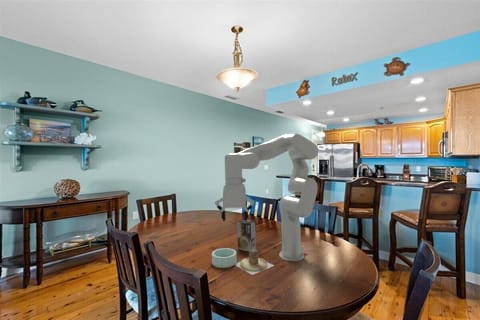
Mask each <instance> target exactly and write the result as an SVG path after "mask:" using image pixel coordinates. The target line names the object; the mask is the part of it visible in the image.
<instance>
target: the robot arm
mask: <svg viewBox="0 0 480 320" xmlns="http://www.w3.org/2000/svg"><path fill="white" fill-rule="evenodd" d="M286 152H288V156H289V158H290V160H291V162H292V170H291V174H290V177H289V180H288V184H287V191H288V192H289V193H290V194H292V195H286V196H283V197H282V198H280V200H279V204H278V205H279V206H278V208H279V211H280V217H281V251H280V252H279V254H278V255H279V258H281V259H282V260H284V261H289V262H299V261H302V260H303V259H304V257H305V255H304V253H303V251H304V250H306V249H307V248H306V246H305V245H301V242H302V241H301V221H300V218H303V219H306V218H309V217H310V216H311V214H312V211H313V209H314V206H315V202H316V198H317V193H318V183H317V181H316V180H315V179H314V178H312V177H308V176H309V171H310V170H309V166H308V163H307V162H306V160H307V161H308V160H314V159H316V158H317V157H318V154H319V149H318V146H317V144H316V143H314V142H313V141H311V140H310V139H309V138H307V137H305V136H304V135H301V134H299V133H290V134H288V133H287V134H283V135H280V136H278V137H275V138H274V139H270V140H269V141H265V142H263V143H260V144H257V145H256V146H252V147H248V148H246V149H244V150H242V151H239V152H237V153H236V152H235V153H226V154H225V155H224V177H225V178H224V179H225V183H224V184H223V185H224V186H223V190H222V197H221V198H219V199H217V200H216V201H214V204H215V206H216V208H217V209H218V210H219V211H220V215H221V219H222V222H225V221H226V220H227V219H226V211H225V210H226V209H233V208H234V209H239V208H240V209H243V210H244V220H245V221H247V220H249V211H250V210H251V209H252V208H253V206H254V203H255V201H254V200H253V199H251V198H249V197H247V195H246V194H247V192H246V186H245V183H246V178H243V170H254V169H256V168H257V167H259V164H260V162H261V161H268V160H271V159H274V158H276V157H279V156H280V155H282V154H285V153H286ZM293 195H295V196H293ZM299 196H300V197H299ZM247 202H248V203H249V205H248V206H247ZM220 203H222V205H220Z"/></svg>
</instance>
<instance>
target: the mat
mask: <svg viewBox="0 0 480 320" xmlns="http://www.w3.org/2000/svg"><path fill="white" fill-rule="evenodd" d="M240 262H241V261H238V262H237V263H236V264H235V265H234V266H236V267H238V268H239V269H241V270H242V271H245V272H246V273H248V274H250V275H251V276H252V275H255V274H258V273H261V272H264V271H266V270H268V269H270V268H272V267H274V266H275V265H274V264H272V263H270V262H268V261H267V267H266V268H265V269H263V270H260V271H247V270H244V269H243V268H241V266H240Z"/></svg>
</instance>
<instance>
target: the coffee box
mask: <svg viewBox="0 0 480 320" xmlns="http://www.w3.org/2000/svg"><path fill="white" fill-rule="evenodd" d="M256 223H257V222H256V220H252V219H251V220H250V219H247V221H245V219H241V220H238V221H237V223H236V225H237V228H236V229H237V249H238V250H240V251H245V252H249V250H251V249H256V250H257V227H256V226H257V224H256Z"/></svg>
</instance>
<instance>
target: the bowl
mask: <svg viewBox="0 0 480 320" xmlns="http://www.w3.org/2000/svg"><path fill="white" fill-rule="evenodd" d="M236 263H238V262H237V251H236V250H235V249H233V248H228V247H227V248H226V247H225V248H224V247H223V248H222V247H221V248H217V249H214V250H213V251H212V252H211V265H212V266H214V267H216V268H220V269H221V268H222V269H223V268H224V269H225V268H231V267H232V266H233V267H234V266H236V265H235V264H236Z"/></svg>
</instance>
